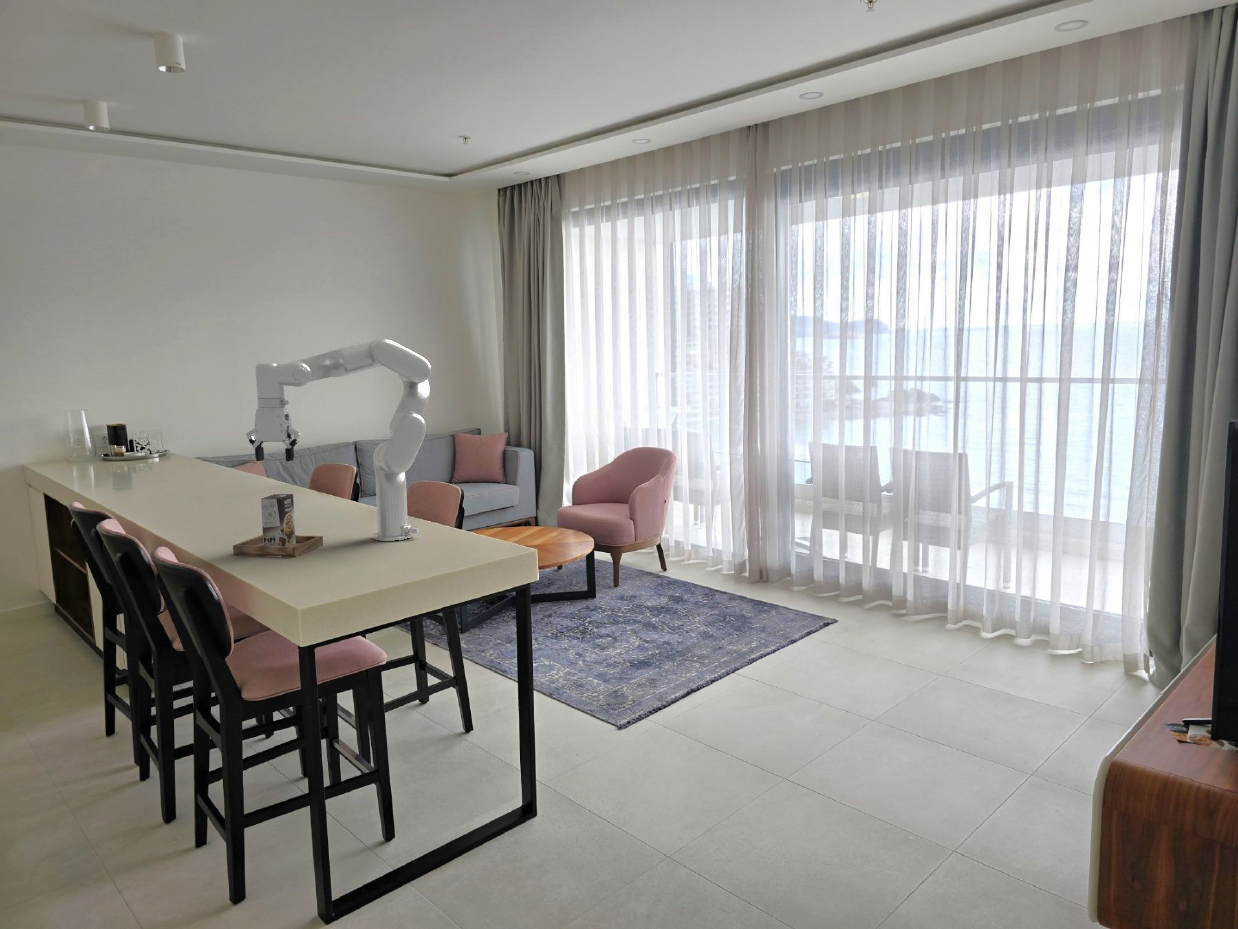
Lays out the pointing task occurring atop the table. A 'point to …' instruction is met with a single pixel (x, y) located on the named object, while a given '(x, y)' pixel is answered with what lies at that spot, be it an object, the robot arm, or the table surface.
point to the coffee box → (278, 520)
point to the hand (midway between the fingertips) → (275, 460)
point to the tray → (278, 547)
